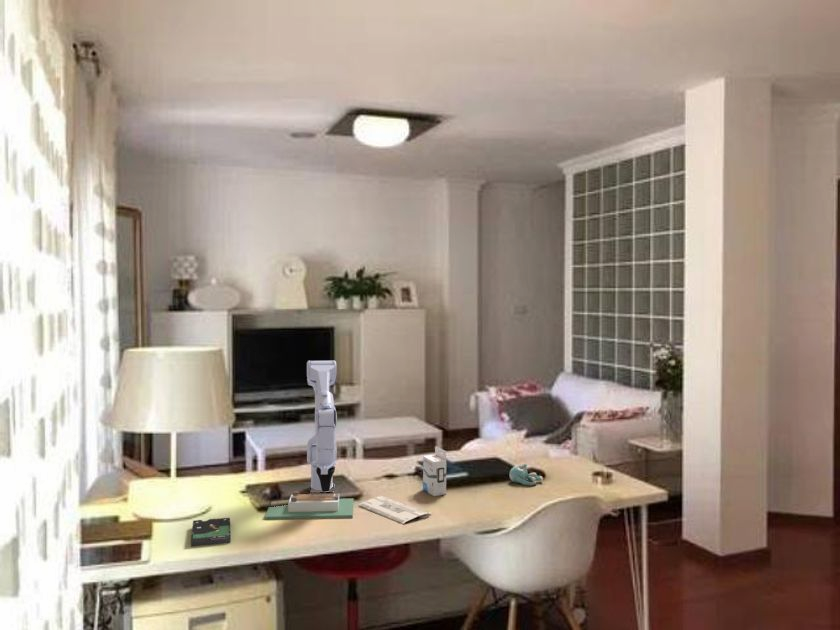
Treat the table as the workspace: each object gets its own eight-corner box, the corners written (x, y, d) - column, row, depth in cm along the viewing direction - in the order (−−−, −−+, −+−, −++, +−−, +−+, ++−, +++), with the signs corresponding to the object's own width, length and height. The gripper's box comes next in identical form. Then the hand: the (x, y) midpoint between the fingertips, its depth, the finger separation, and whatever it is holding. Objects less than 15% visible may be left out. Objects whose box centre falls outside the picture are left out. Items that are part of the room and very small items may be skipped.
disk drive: (192, 530, 196) (191, 548, 182) (192, 520, 196) (190, 538, 182) (230, 526, 199) (231, 544, 185) (229, 517, 199) (231, 534, 185)
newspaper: (434, 517, 208) (433, 509, 208) (404, 530, 200) (403, 522, 200) (386, 499, 225) (386, 491, 225) (357, 510, 217) (356, 503, 217)
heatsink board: (272, 502, 220) (272, 487, 219) (353, 500, 222) (353, 486, 221) (264, 519, 204) (264, 503, 203) (352, 517, 206) (352, 501, 205)
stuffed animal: (547, 472, 238) (513, 465, 238) (543, 491, 238) (509, 485, 239) (542, 463, 249) (510, 457, 249) (538, 483, 249) (506, 476, 249)
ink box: (422, 489, 234) (422, 447, 234) (435, 487, 236) (435, 445, 236) (433, 496, 227) (434, 452, 226) (446, 494, 229) (447, 451, 228)
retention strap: (295, 496, 214) (295, 494, 214) (334, 495, 215) (334, 493, 215) (294, 500, 210) (294, 498, 210) (333, 499, 211) (333, 497, 211)
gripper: (314, 442, 219) (314, 484, 220) (310, 453, 204) (310, 498, 205) (336, 442, 219) (336, 483, 220) (334, 453, 205) (334, 498, 206)
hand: (325, 491), depth 213 cm, fingers closed
